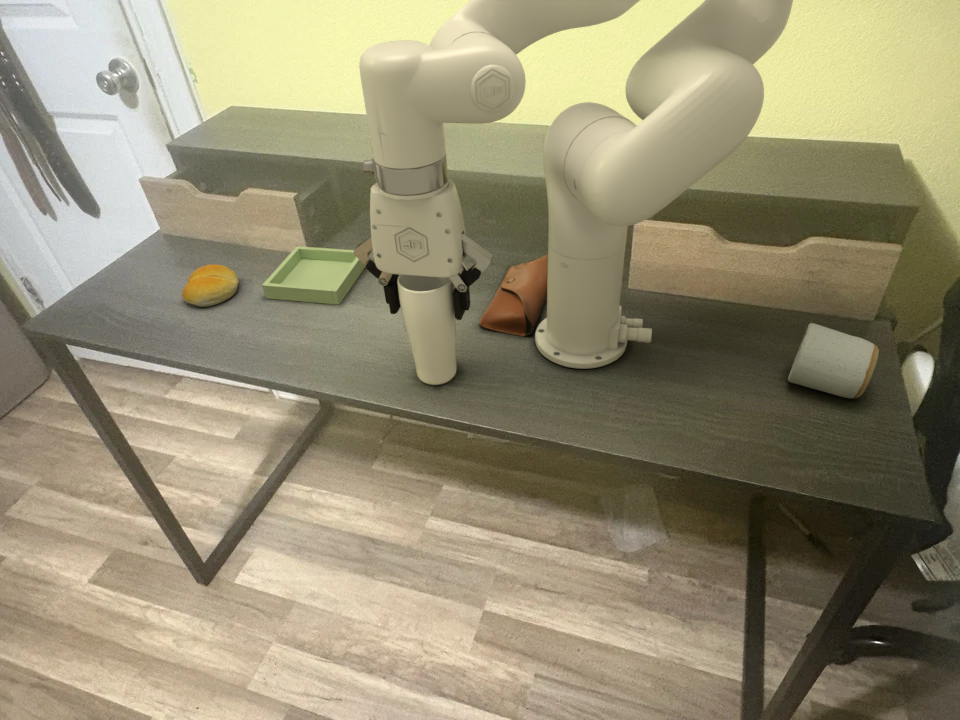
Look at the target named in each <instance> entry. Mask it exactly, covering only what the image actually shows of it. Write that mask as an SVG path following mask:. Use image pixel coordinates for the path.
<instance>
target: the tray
mask: <svg viewBox="0 0 960 720" xmlns="http://www.w3.org/2000/svg"><path fill="white" fill-rule="evenodd" d="M354 250H355V249H343V248H327V247H311V246H300V245H299V246H298V245H296V247H295V248H293V250H292V251H290V253H289V254H288V255H287V256H286V257H285V259H284V260H283V261H282V262H281V263H280V264H279V265H278V266H277V268H276V269H275V270H274V271H273V272H272V273H271V274H270V275H269V277H268V278H267V279H266V280H265V281H264V282H263V283H262V285H261V286H262V290H263V294H264V296H265V299H270V300H282V301H292V302H303V303H314V304H316V303H317V304H328V305H337V306H338V305H340V304H341V303H342V301H343V300H344V298H345V297H346V296H347V294H348V293H349V291H350V290H351V288H352V287H353V286H354V284H355V283H356V281H357V280H358V278H359V277H360V275H361V274H362V273H363V271H364V270H365V269H366V265H365V264H363V263H362V262H361V261H360V260H359V259H358V258H357V257H356V256H355V254H354Z"/></svg>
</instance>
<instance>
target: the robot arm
mask: <svg viewBox="0 0 960 720" xmlns="http://www.w3.org/2000/svg"><path fill="white" fill-rule="evenodd" d="M639 2H641V0H469V1H468V2H467V3H465V4H464V5H463V6H462V7H461V8H460V9H458V10H457V11H456V12H455V13H454V14H453V15H451V16H450V17H449V18H448V19H447V20H446V21H445V22H444V23H442V25H441V26H440V27H439V28H438V29H437V31H436V32H435V34H434V35H433V37H432V38H431V41H430V43H426V42H422V41H420V40H419V41H418V40H411V39H399V40H398V39H397V40H389V41H383V42H379V43H376V44H373V45H371V46H370V47H367V48H366V49H365V50H364V51H363V52H362V53H361V55H360V58H359V63H358V64H359V65H358V67H359V68H358V69H359V76H360V83H361V88H362V95H363V103H364V108H365V113H366V120H367V126H368V132H369V138H370V145H371V150H372V151H371V152H372V157H373V158H371V159H364V160H363V162H362V170H363V173H365V174H371V175H373V177H374V181H375V183H374V184H373V185H372V186H371V187H370V196H369V197H370V198H369V220H370V223H369V224H370V236H368V237H367V238H365V239H364V240H363V241H361V242H360V243H359V244H358V245H357V246H356V247H355V248H354V249H353V250H354V254H355V256H356V257H357V258H358V259H359V260H360V261H361V262H362V263H363V264H365V265H366V267H365V269H366V271H368V272H369V273H370V274H372V276H374V278H375V279H377V282H378V284H379V285H380V286H382V288H383V292H384V298H385V299H384V300H385V303H386V304H387V305H388V307H389V312H390V314H391V315H396V314H398V312H399V311H400V310H401V307H400V301H399V294H398V284H397V279H398V276H399V275H409V276H423V277H437V278H449V279H450V280H451V281H452V283H453V284H454V288H455V289H454V291H453V301H454V312H455V318H456V321H462V320H463V317H464V314H465V312H467V311H469V310H470V307H471V292H470V287H471V286H472V285H473V284H474V283H475V282H477V280H479V279H480V277H481V276H482V275H483V274H484V273H485V271H486V270H487V269H488V268H489V266H491V264H492V261H493V258H494V256H493V254H492V253H491V252H490V251H489V250H487V249H485V248H484V247H483V246H481V245H480V244H479V243H477V242H476V241H474V240H473V239H471V238H470V237H468V236H467V234H466V225H465V219H464V214H463V210H462V205H461V202H460V198H459V197H460V196H459V193H458V190H457V187H456V184H455V182H454V179H451V178H449V173H448V170H449V169H448V162H447V149H446V147H447V146H446V139H445V138H446V137H445V125H444V124H469V125H470V124H472V125H474V124H476V125H478V124H479V125H482V124H491V123H494V122H495V123H496V122H498V121H501V120H504V119H505V118H507V117H508V116H510V115H511V114H512V113H513V112H514V111H515V110H516V109H517V108H518V106H519V105H520V104H521V101H522V100H523V97H524V95H525V90H526V83H527V81H526V79H527V78H526V72H525V69H524V66H523V64H522V62H521V60H520V58H519V57H518V54H519V53H521V52H522V51H523V50H525V49H526V48H528V47H530V46H531V45H533V44H534V43H536V42H538V41H540V40H542V39H544V38H546V37H549V36H551V35H553V34H556V33H560V32H563V31H567V30H571V29H572V30H573V29H578V28H579V29H580V28H586V27H592V26H597V25H600V24H604V23H606V22H610V21H612V20H615V19H618V18H620V17H621V16H623V15H624V14H626V13H627V12H628V11H629V10H630V9H632V8H633V7H634V6H635V5H637V4H638V3H639ZM793 3H794V0H703V2H702V3H701V4H700V5H698V7H696V8H695V9H694V10H693V11H692V12H690V13H689V15H687V16H686V17H685V18H684V19H683V20H681V21H680V22H679V23H678V24H677V25H676V26H675V27H673V28H672V29H671V30H670V31H669V32H668V33H666V34H665V35H664V36H663V37H662V38H661V39H659V40H658V41H657V42H656V43H654V44H653V46H651V47H650V48H649V49H648V50H647V51H646V52H645V53H643V55H641V57H640V58H639V59H638V60H637V61H636V62H635V64H634V65H633V66H632V68H631V69H630V72H628V73H629V74H628V75H627V78H626V81H625V87H624V88H625V98H626V102H627V103H628V106H629V107H630V110H632V112H633V113H634V114H635V115H636V117H638V118H639V119H640V120H642V121H640V122H639V123H638V124H636V123H634V122H633V121H632V120H631V119H629V118H627V117H626V116H624V115H623V114H621V113H619V112H618V111H616V110H615V109H613V108H611V107H609V106H607V105H606V104H603V103H602V104H601V103H597V102H592V101H591V102H589V101H588V102H580V103H579V102H578V103H575V104H573V105H570V106H568V107H567V108H565V109H564V110H562V111H561V112H560V113H559V114H558V115H557V116H556V117H555V118H554V120H553V121H552V122H551V124H550V126H549V128H548V130H547V132H546V135H545V139H544V144H543V152H542V153H543V155H542V156H543V157H542V160H543V161H542V162H543V173H544V181H545V188H546V196H547V210H548V211H547V212H548V216H547V217H548V233H547V234H548V235H547V237H548V238H547V254H548V281H547V297H546V317H545V318H544V319H542V321H540V323H539V324H538V325H537V327H536V329H535V333H534V343H535V345H536V349H537V350H538V351H539V353H540V354H541V355H542V356H543V357H544V358H546V359H547V360H549V361H550V362H552V363H554V364H557V365H559V366H563V367H566V368H572V369H584V370H586V369H587V370H588V369H596V368H600V367H604V366H607V365H609V364H611V363H613V362H615V361H617V360H618V359H619V358H620V357H622V356H623V354H624V353H625V352H626V349H627V346H628V341H629V342H637V343H645V344H651V342H652V335H653V328H650V327H643V324H644V319H643V318H635V317H634V318H627V317H626V316H625V315H622V305H620V304H621V303H620V302H621V294H622V284H623V276H624V275H623V274H624V265H625V254H626V246H627V239H628V238H627V237H628V227H630V226H635V225H637V224H640V223H643V222H644V221H646V220H648V219H650V218H652V217H653V216H655V215H657V213H659V212H661V211H662V210H664V209H665V208H666V207H667V206H668V205H669V204H671V203H672V202H673V201H675V200H676V199H677V198H679V197H680V196H681V195H682V194H683V193H685V192H686V191H687V190H689V188H691V187H692V186H694V185H695V184H696V183H697V182H698V181H699V180H701V179H702V178H704V176H706V175H707V174H708V173H709V172H711V171H712V170H713V169H714V168H715V167H717V166H718V165H719V164H721V163H722V162H723V161H724V160H725V159H726V158H728V157H729V156H730V155H731V154H732V153H734V152H735V150H737V149H738V148H739V147H740V146H741V145H742V144H743V142H744V141H745V140H746V138H747V137H748V136H749V135H750V133H751V132H752V130H753V129H754V127H755V125H756V123H757V121H758V119H759V116H760V115H761V112H762V110H763V105H764V101H765V86H764V82H763V78H762V76H761V73H760V72H759V70H758V69H757V68H756V66H755V64H756V63H757V62H758V61H759V60H760V59H761V58H762V57H763V56H765V55H766V54H767V53H768V51H770V49H772V47H773V46H774V45H775V44H776V42H777V41H778V39H780V37H781V35H782V34H783V33H784V31H785V29H786V27H787V24H788V21H789V18H790V15H791V11H792V8H793ZM467 256H468V257H469V258H471V259H472V260H474V261H475V263H474V264H473V265H471V266H470V267H469V268H468V266H466V264H465V263H464V261H463V260H464V259H465V258H466V257H467Z"/></svg>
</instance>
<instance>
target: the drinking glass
mask: <svg viewBox="0 0 960 720" xmlns="http://www.w3.org/2000/svg"><path fill="white" fill-rule="evenodd" d="M397 284H398V294H399V301H400V312H401V315H402V319H403V323H404V326H405V330H406V334H407V338H408V341H409V345H410V349H411V353H412V354H411V355H412V357H413V362H414V366H415V372H416V376H417V377H418V379H419V380H420V381H421V383H424V384H427V385H432V386H439V385H443V384H447V383H448V382H450V381H452V379H454V377H455V376H456V374H457V351H456V350H457V349H456V348H457V319H456V318H455V312H454V301H453V291H454V289H455V286H454V284H453V283H452V281H451V280H450V279H449V278H437V277H423V276H409V275H399V276H398V279H397Z"/></svg>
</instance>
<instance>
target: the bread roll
mask: <svg viewBox="0 0 960 720" xmlns="http://www.w3.org/2000/svg"><path fill="white" fill-rule="evenodd" d="M239 283H240V281H239V277H238V276H237V273H236V272H235V271H233V270H232V269H231V268H230V267H227V266H226V265H222V264H215V263H213V264H206V265H203V266H201V267H198V268H197V269H195V270H194V271H193V272H192V273H191V274H190V275H189V276H188V279H187V283H186V284H185V285H184V286H183V288H182V292H181V295H182V296H181V297H182V299H183V300H184V301H185V302H186V303H188V304H191V305H193V306H197V307H211V306H212V307H213V306H215V305H217V304H221V303H222V302H225V301H226V300H229V299H230V298H231V297H233V296H234V295H235V294H236V292H237V290H238V286H239Z"/></svg>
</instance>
